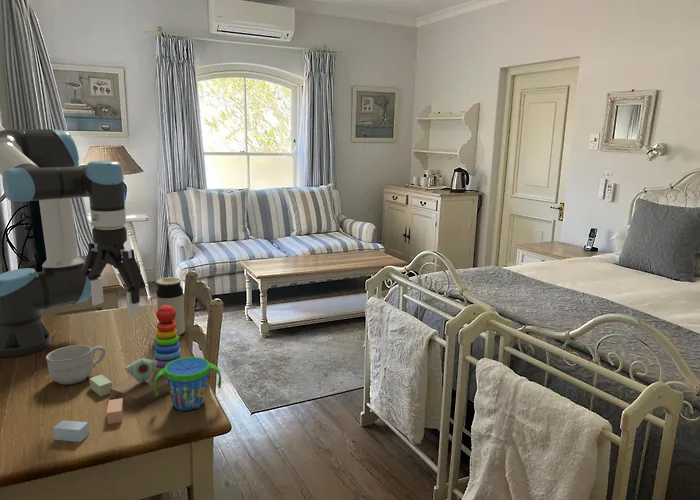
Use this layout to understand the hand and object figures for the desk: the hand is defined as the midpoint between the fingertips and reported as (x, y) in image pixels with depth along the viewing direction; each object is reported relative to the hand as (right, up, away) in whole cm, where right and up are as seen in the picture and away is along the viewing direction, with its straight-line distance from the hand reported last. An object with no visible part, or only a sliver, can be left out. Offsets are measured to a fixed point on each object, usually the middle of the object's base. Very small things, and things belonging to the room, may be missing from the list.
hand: (115, 309), depth 128 cm
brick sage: (-5, -21, +3) cm, 22 cm away
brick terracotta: (+4, -24, -9) cm, 26 cm away
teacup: (-14, -20, +9) cm, 26 cm away
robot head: (+6, -19, +2) cm, 20 cm away
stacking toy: (+8, -19, +15) cm, 25 cm away
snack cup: (+19, -23, -3) cm, 30 cm away
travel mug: (0, -13, +40) cm, 42 cm away
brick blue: (-2, -26, -17) cm, 31 cm away
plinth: (+6, -21, +2) cm, 22 cm away
